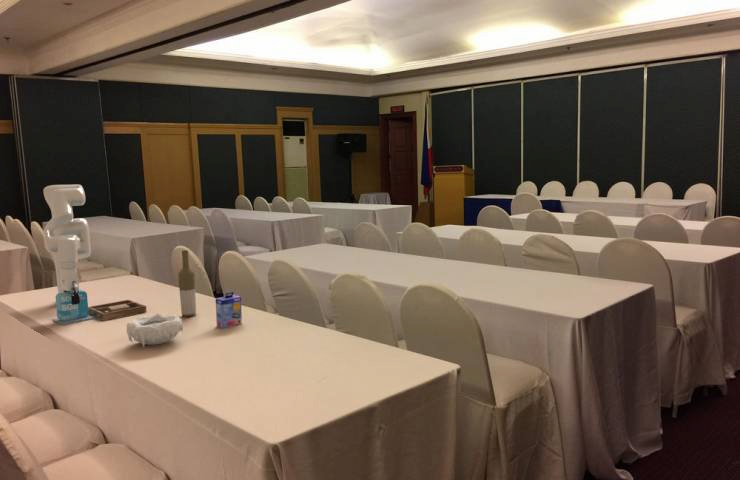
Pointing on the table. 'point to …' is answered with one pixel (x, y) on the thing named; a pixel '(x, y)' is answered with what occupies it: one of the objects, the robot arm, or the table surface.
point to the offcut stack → (117, 308)
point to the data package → (71, 306)
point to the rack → (100, 311)
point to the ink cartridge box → (228, 310)
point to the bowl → (154, 328)
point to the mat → (72, 320)
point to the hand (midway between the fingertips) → (72, 302)
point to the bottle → (187, 288)
